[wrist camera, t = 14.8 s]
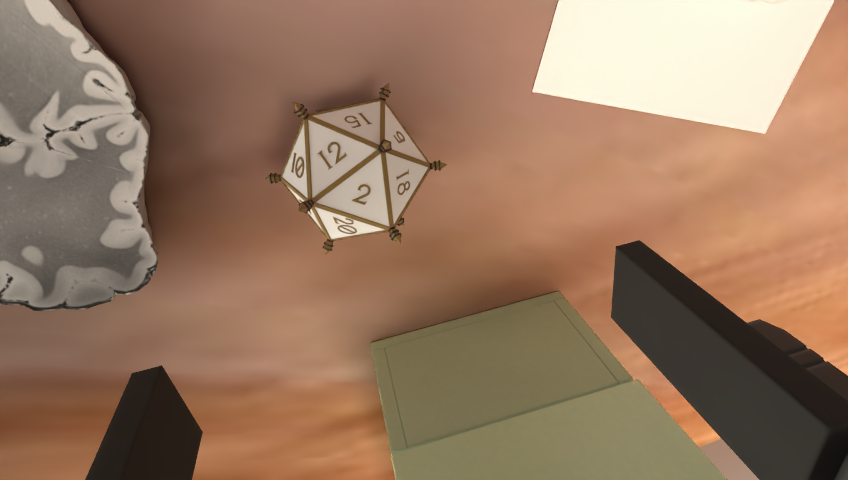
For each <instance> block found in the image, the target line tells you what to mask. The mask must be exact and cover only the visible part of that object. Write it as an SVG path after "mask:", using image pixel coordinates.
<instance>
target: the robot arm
mask: <svg viewBox="0 0 848 480" xmlns="http://www.w3.org/2000/svg"><path fill="white" fill-rule="evenodd" d="M611 318H612V319H613V320H614V321H615V322H616V323H617V324H618V325H619V326H620V328H621V329H622V330H623V331H624V332H625V333H626V334H627V335H628V336H629V337H630V339H631V340H632V341H633V342H634V343H635V344H636V345H637V346H638V347H639V348H640V349H641V351H642V352H643V353H644V354H645V355H646V356H647V357H648V358H649V359H650V360H651V362H652V363H653V364H654V365H655V366H656V367H657V368H658V369H659V370H660V371H661V372H662V374H663V375H664V376H665V377H666V378H667V379H668V380H669V381H670V382H671V383H672V385H673V386H674V387H675V388H676V389H677V390H678V391H679V392H680V393H681V394H682V395H683V397H684V398H685V399H686V400H687V401H688V402H689V403H690V404H691V405H692V406H693V407H694V409H695V410H696V411H697V412H698V413H699V414H700V415H701V416H702V417H703V418H704V420H705V421H706V422H707V423H708V424H709V425H710V426H711V427H712V428H713V429H714V430H715V432H716V433H717V434H718V435H719V436H720V437H721V438H722V439H723V440H724V441H725V442H726V444H727V445H728V446H729V447H730V448H731V449H732V450H733V451H734V452H735V453H736V455H737V456H738V457H739V458H740V459H741V460H742V461H743V462H744V463H745V464H746V465H747V467H748V468H749V469H750V470H751V471H752V472H753V473H754V474H755V475H756V476H757V478H758V479H759V480H848V376H847V375H846V374H844V373H843V372H842V371H840V370H839V369H837V368H836V367H835V366H833V365H832V364H831V363H829V362H825V361H824V360H823V358H822V357H821V356H820V355H818V354H817V353H815V352H814V351H813V350H811V349H807V348H806V345H804V344H803V343H802V342H800V341H799V340H798V339H796V338H795V337H793V336H792V335H791V334H789V333H788V332H787V331H785V330H783V329H781V328H778V327H776V326H774V325H771V324H769V323H767V322H765V321H762V320H760V319H759V320H755V321H752V322H749V323H746V322H745V321H743V320H742V319H741V318H740V317H738V316H737V315H736V314H734V313H733V312H732V311H731V310H729V309H728V308H727V307H725V306H724V305H723V304H721V303H720V302H719V301H718V300H716V299H715V298H714V297H712V296H711V295H710V294H708V293H707V292H706V291H705V290H703V289H702V288H701V287H699V286H698V285H697V284H696V283H694V282H693V281H692V280H690V279H689V278H688V277H686V276H685V275H684V274H683V273H681V272H680V271H679V270H677V269H676V268H675V267H674V266H672V265H671V264H670V263H668V262H667V261H666V260H664V259H663V258H662V257H661V256H659V255H658V254H657V253H655V252H654V251H653V250H652V249H650V248H649V247H648V246H646V245H645V244H644V243H642V242H641V241H640V240H639V241H635V242H631V243H627V244H623V245H620V246H616V255H615V269H614V283H613V298H612V312H611ZM201 437H202V430H201V429H200V427H199V425H198V424H197V422H196V421H195V419H194V417H193V416H192V414H191V412H190V411H189V409H188V407H187V406H186V404H185V402H184V401H183V399H182V398H181V396H180V394H179V393H178V391H177V389H176V388H175V386H174V384H173V383H172V381H171V380H170V378H169V376H168V375H167V373H166V371H165V370H164V368H163V366H158V367H154V368H151V369H147V370H143V371H139V372H135V373H132V375H131V377H130V379H129V381H128V384H127V386H126V388H125V390H124V393H123V395H122V397H121V400H120V402H119V404H118V406H117V409H116V411H115V413H114V416H113V418H112V420H111V422H110V425H109V427H108V429H107V432H106V434H105V436H104V438H103V441H102V443H101V445H100V447H99V450H98V452H97V454H96V457H95V459H94V461H93V463H92V466H91V468H90V470H89V473H88V475H87V477H86V479H85V480H192V477H193V472H194V468H195V463H196V459H197V454H198V450H199V446H200V441H201Z"/></svg>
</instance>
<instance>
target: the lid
mask: <svg viewBox="0 0 848 480" xmlns="http://www.w3.org/2000/svg"><path fill="white" fill-rule="evenodd" d="M391 457H392V463H393V468H394V473H395V479H396V480H727V479H726V478H725V476H724V475H723V474H722V473H721V472H720V471H719V470H718V469H717V467H716V466H715V465H714V464H713V463H712V462H711V461H710V460H709V459H708V457H707V456H706V455H705V454H704V453H703V452H702V451H701V449H700V448H699V447H698V446H697V445H696V444H695V443H694V442H693V440H692V439H691V438H690V437H689V436H688V435H687V434H686V433H685V431H684V430H683V429H682V428H681V427H680V426H679V425H678V424H677V422H676V421H675V420H674V419H673V418H672V417H671V416H670V415H669V413H668V412H667V411H666V410H665V409H664V408H663V407H662V406H661V404H660V403H659V402H658V401H657V400H656V399H655V398H654V397H653V395H652V394H651V393H650V392H649V391H648V390H647V389H646V388H645V386H644V385H643V384H642V383H641V382H640V381H639V380H635V381H631V382H628V383H625V384H621V385H618V386H615V387H612V388H608V389H605V390H602V391H599V392H595V393H592V394H589V395H586V396H582V397H579V398H576V399H573V400H569V401H566V402H563V403H559V404H556V405H553V406H550V407H546V408H543V409H540V410H537V411H533V412H530V413H527V414H524V415H520V416H517V417H514V418H511V419H507V420H504V421H501V422H497V423H494V424H491V425H488V426H484V427H481V428H478V429H475V430H471V431H468V432H465V433H462V434H458V435H455V436H452V437H449V438H445V439H442V440H439V441H435V442H432V443H429V444H426V445H422V446H419V447H416V448H413V449H409V450H406V451H403V452H400V453H396V454H393V455H392V456H391Z"/></svg>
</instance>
